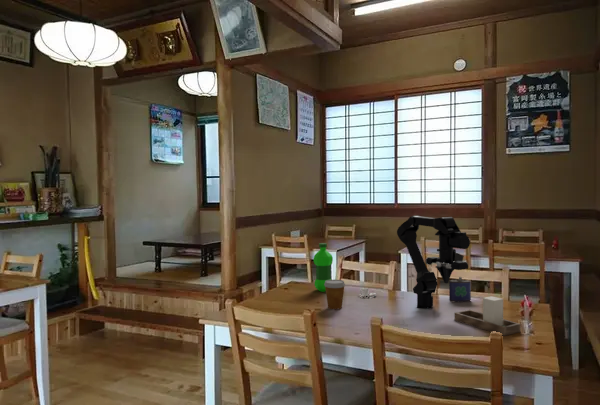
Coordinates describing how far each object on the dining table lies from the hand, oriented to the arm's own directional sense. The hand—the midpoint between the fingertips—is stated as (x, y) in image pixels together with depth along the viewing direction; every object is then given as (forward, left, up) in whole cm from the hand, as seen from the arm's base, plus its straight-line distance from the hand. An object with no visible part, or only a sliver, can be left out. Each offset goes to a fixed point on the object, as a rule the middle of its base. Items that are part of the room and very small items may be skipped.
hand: (446, 283), depth 189 cm
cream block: (+16, -16, -12) cm, 26 cm away
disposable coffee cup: (-48, -2, -13) cm, 50 cm away
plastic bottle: (-61, +30, -13) cm, 69 cm away
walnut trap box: (+14, -14, -13) cm, 24 cm away
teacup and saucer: (-36, +21, -14) cm, 43 cm away
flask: (+7, +23, -13) cm, 28 cm away
